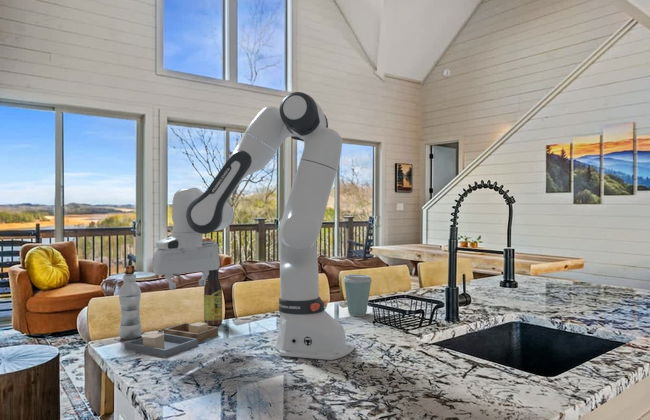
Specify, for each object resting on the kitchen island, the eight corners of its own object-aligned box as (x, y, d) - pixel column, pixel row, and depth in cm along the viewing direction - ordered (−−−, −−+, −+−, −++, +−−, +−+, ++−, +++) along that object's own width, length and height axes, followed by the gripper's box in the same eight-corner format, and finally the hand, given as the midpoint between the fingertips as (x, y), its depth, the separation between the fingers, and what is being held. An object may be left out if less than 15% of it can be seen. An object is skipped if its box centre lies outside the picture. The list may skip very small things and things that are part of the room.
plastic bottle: (146, 337, 144) (145, 274, 144) (129, 343, 138) (128, 277, 138) (131, 335, 147) (130, 273, 147) (114, 341, 140) (113, 276, 140)
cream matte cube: (198, 334, 144) (197, 322, 144) (207, 336, 142) (207, 323, 142) (188, 337, 140) (188, 324, 140) (198, 339, 139) (198, 326, 139)
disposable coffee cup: (356, 310, 178) (355, 271, 178) (378, 314, 171) (377, 274, 171) (337, 315, 171) (337, 274, 171) (360, 319, 163) (359, 277, 163)
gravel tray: (197, 347, 133) (197, 338, 133) (165, 359, 122) (164, 350, 122) (158, 340, 140) (158, 332, 140) (125, 351, 130) (124, 342, 130)
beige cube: (164, 348, 130) (164, 334, 130) (154, 352, 126) (154, 338, 126) (152, 347, 131) (152, 333, 131) (143, 351, 128) (142, 337, 128)
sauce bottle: (217, 326, 156) (216, 268, 156) (200, 326, 158) (199, 268, 158) (225, 322, 163) (224, 266, 163) (209, 321, 164) (208, 266, 164)
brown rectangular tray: (218, 336, 143) (218, 327, 143) (197, 344, 135) (197, 334, 135) (185, 331, 150) (185, 322, 150) (164, 338, 142) (163, 329, 142)
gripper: (213, 239, 148) (213, 282, 148) (150, 242, 134) (150, 290, 134) (223, 240, 143) (223, 284, 143) (158, 243, 130) (159, 292, 130)
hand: (187, 287), depth 139 cm, fingers open, 8 cm apart
